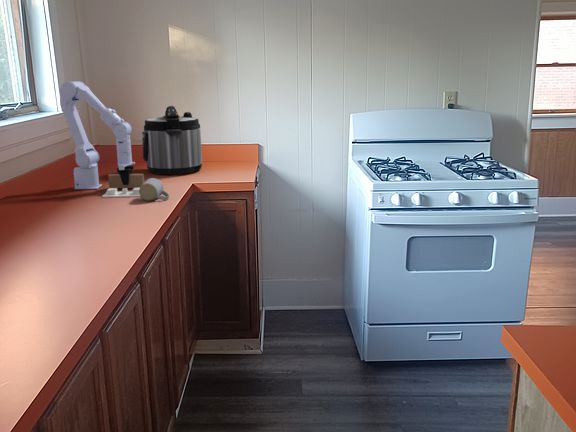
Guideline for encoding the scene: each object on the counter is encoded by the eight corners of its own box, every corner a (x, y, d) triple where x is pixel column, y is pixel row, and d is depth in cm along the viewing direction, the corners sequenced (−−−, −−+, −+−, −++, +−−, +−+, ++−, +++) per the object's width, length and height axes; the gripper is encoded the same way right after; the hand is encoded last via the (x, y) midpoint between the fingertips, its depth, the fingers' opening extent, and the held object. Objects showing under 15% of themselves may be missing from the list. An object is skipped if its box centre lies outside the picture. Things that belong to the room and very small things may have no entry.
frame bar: (109, 188, 228) (108, 175, 226) (110, 186, 231) (109, 174, 229) (143, 187, 229) (142, 175, 227) (144, 186, 231) (143, 173, 230)
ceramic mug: (138, 201, 206) (137, 181, 204) (145, 196, 214) (144, 177, 212) (166, 202, 206) (165, 182, 204) (171, 197, 214) (170, 178, 212)
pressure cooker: (166, 164, 288) (162, 103, 280) (213, 167, 278) (211, 104, 270) (131, 174, 261) (126, 107, 253) (183, 178, 251) (179, 108, 243)
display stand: (102, 197, 213) (101, 191, 212) (107, 193, 221) (106, 187, 220) (143, 196, 214) (143, 190, 213) (147, 192, 222) (146, 186, 221)
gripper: (130, 154, 219) (132, 187, 222) (137, 149, 233) (139, 180, 236) (112, 154, 218) (115, 187, 222) (120, 149, 232) (123, 180, 236)
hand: (126, 184), depth 229 cm, fingers closed on frame bar, 3 cm apart
